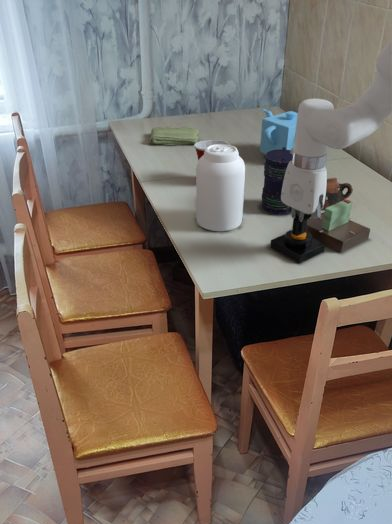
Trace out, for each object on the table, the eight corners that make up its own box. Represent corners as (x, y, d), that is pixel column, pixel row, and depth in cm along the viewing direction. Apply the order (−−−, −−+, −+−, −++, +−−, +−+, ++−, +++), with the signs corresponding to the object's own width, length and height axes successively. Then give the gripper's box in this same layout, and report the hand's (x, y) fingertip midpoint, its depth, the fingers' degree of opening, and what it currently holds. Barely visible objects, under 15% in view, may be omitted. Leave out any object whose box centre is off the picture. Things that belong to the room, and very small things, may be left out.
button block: (323, 251, 136) (326, 237, 133) (299, 263, 131) (301, 249, 129) (294, 237, 142) (296, 223, 139) (270, 247, 137) (271, 233, 135)
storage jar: (262, 199, 160) (267, 136, 148) (295, 201, 158) (303, 138, 147) (259, 214, 152) (264, 149, 141) (294, 216, 151) (303, 151, 139)
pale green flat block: (328, 231, 138) (332, 210, 134) (321, 228, 139) (325, 207, 135) (348, 222, 142) (352, 201, 138) (341, 219, 143) (345, 198, 139)
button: (308, 240, 134) (309, 234, 133) (298, 244, 133) (299, 238, 132) (297, 235, 137) (298, 228, 136) (287, 239, 135) (288, 233, 134)
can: (194, 231, 144) (195, 156, 131) (197, 211, 153) (197, 139, 141) (242, 233, 143) (246, 158, 130) (241, 212, 153) (246, 140, 140)
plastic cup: (220, 173, 175) (221, 135, 167) (233, 186, 167) (235, 147, 159) (188, 178, 172) (188, 139, 164) (200, 191, 164) (201, 151, 156)
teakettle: (259, 166, 180) (263, 120, 170) (259, 146, 194) (262, 102, 184) (316, 168, 178) (323, 122, 169) (312, 148, 193) (319, 104, 183)
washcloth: (198, 146, 194) (198, 136, 192) (149, 145, 194) (149, 136, 192) (198, 133, 204) (198, 125, 202) (151, 133, 204) (151, 124, 202)
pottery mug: (311, 211, 154) (307, 182, 153) (312, 212, 163) (308, 184, 162) (355, 203, 151) (351, 173, 150) (353, 204, 160) (349, 176, 159)
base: (369, 238, 141) (372, 227, 139) (339, 253, 135) (341, 242, 133) (327, 219, 149) (329, 209, 147) (297, 233, 143) (299, 222, 141)
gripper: (273, 153, 124) (266, 226, 136) (323, 173, 116) (311, 249, 127) (295, 146, 128) (286, 218, 140) (346, 165, 119) (331, 240, 131)
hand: (298, 233), depth 134 cm, fingers closed
